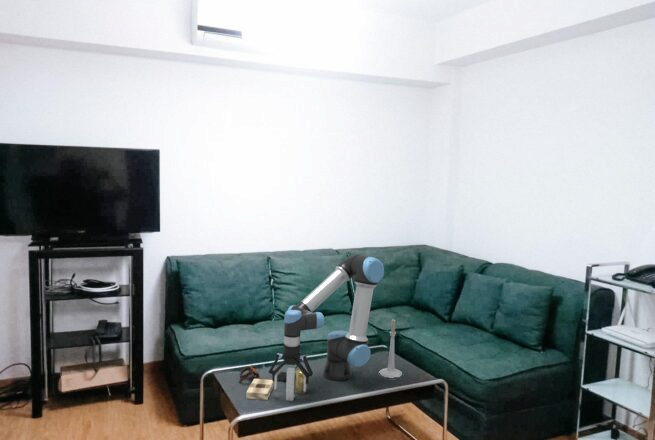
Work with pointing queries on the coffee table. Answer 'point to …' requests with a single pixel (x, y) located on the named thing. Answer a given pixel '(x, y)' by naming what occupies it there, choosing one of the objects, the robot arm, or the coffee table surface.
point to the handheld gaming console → (282, 376)
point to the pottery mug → (249, 373)
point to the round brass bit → (300, 382)
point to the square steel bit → (290, 384)
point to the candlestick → (391, 357)
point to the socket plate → (260, 389)
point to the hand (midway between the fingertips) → (290, 389)
